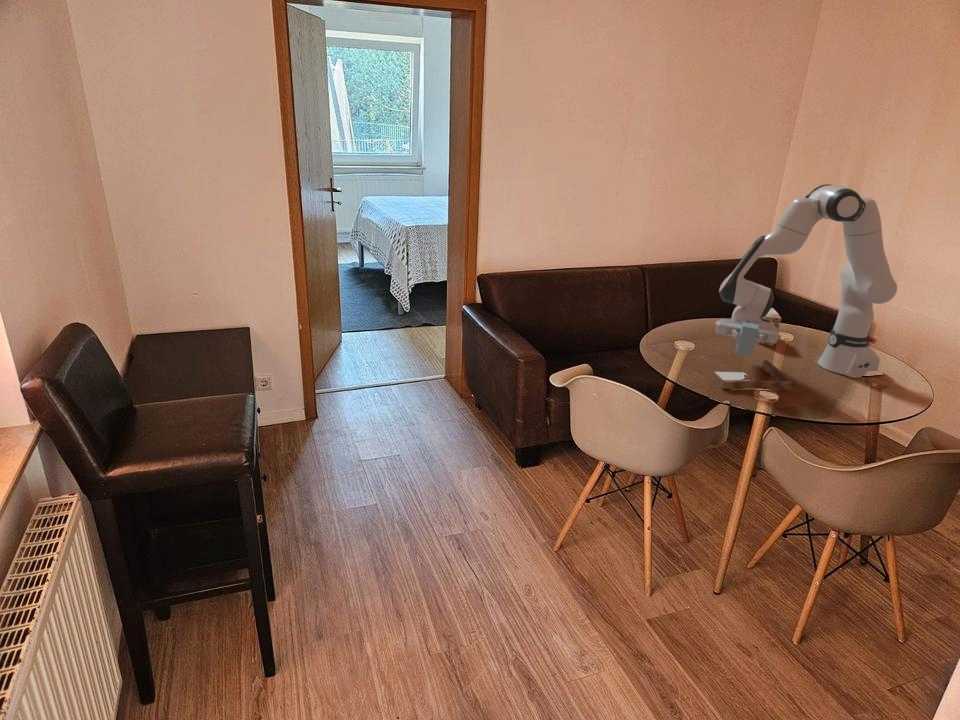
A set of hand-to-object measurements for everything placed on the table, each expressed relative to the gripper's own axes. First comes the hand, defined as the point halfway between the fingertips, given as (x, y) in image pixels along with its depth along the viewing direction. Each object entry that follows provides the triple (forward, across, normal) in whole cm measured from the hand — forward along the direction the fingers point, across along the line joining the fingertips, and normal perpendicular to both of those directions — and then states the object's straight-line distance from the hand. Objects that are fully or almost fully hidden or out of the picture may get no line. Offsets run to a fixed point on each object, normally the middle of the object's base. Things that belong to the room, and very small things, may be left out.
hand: (747, 338), depth 204 cm
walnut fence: (-3, +3, +16) cm, 16 cm away
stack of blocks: (-54, +11, +16) cm, 57 cm away
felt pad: (-1, 0, +16) cm, 16 cm away
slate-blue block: (-1, 0, +6) cm, 6 cm away
